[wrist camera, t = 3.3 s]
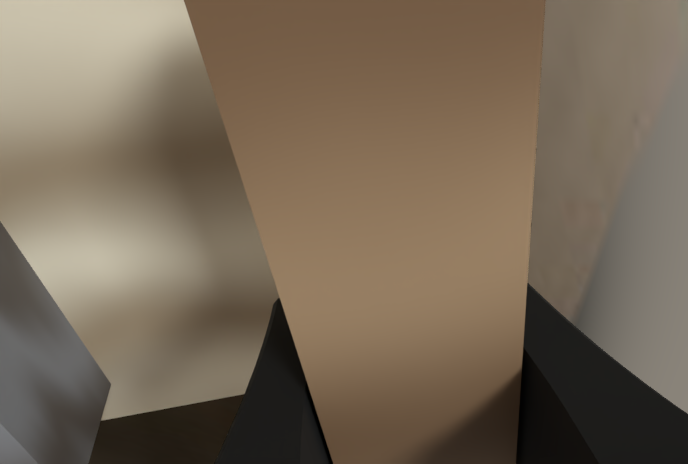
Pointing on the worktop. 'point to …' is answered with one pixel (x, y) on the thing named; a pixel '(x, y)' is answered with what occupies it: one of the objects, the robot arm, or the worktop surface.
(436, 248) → the walnut bar
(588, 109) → the worktop surface
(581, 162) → the worktop surface
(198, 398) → the board
